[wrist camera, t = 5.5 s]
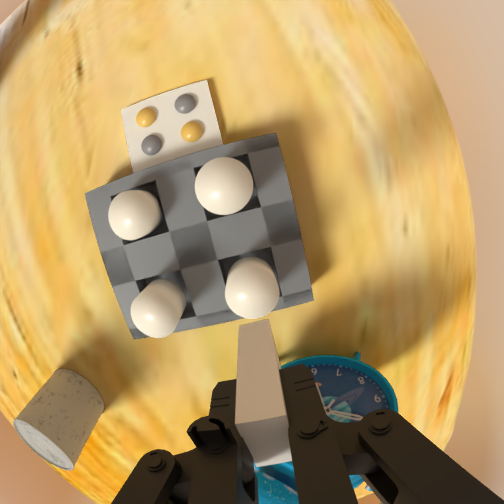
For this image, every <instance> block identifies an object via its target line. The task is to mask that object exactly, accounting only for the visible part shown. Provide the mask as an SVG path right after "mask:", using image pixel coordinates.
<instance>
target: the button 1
mask: <svg viewBox="0 0 504 504" xmlns="http://www.w3.org/2000/svg"><path fill="white" fill-rule="evenodd" d="M163 218H164V211H163V208H162V204H161V200H160V198H159V196H158V195H157V194H155V193H154V192H151V191H148V190H128V191H123V192H121V193H119V194H118V195H117V196H116V197H115V198H114V199H113V200H112V202H111V204H110V207H109V212H108V219H109V223H110V226H111V228H112V230H113V231H114V233H115V234H116V235H117V236H119V237H120V238H122V239H125V240H136V239H138V238H141V237H143V236H145V235H147V234H149V233H151V232H153V231H155V230H156V229H157V228H158V227H159V226H160V225H161V223H162V221H163Z"/></svg>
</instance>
